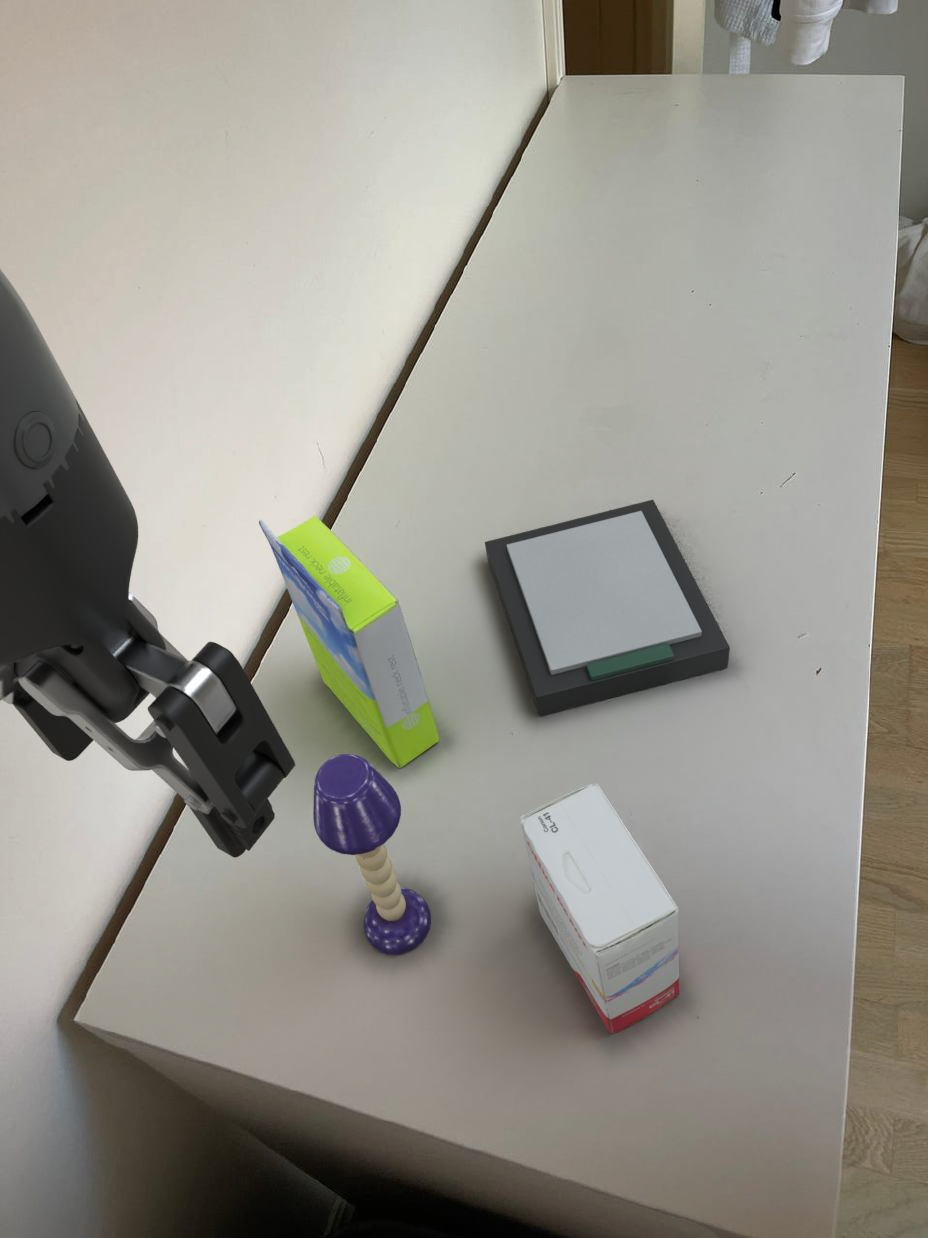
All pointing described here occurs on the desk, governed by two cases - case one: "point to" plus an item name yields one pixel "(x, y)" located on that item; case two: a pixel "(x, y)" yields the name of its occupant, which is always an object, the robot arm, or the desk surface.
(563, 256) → the desk surface
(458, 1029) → the desk surface
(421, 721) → the box
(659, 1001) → the ink box
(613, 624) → the scale
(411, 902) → the toy lamp
